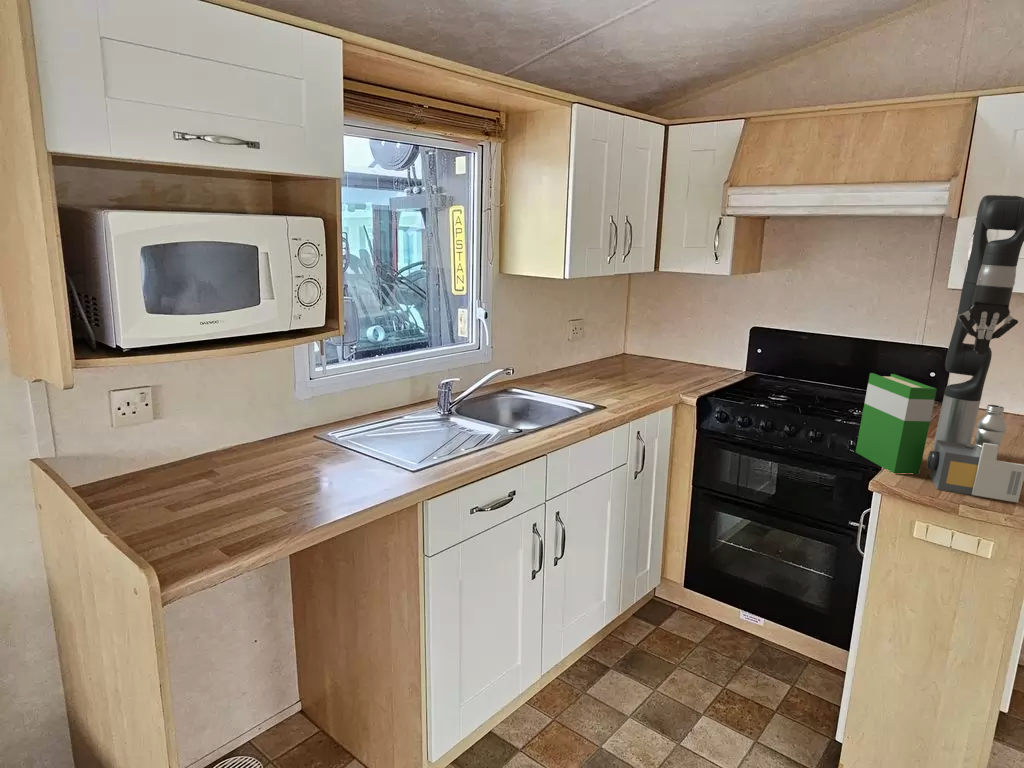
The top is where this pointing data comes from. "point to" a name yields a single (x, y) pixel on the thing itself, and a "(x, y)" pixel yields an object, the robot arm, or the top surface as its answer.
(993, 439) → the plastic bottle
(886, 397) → the hardback book
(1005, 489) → the side door
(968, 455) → the camera housing
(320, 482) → the top surface
